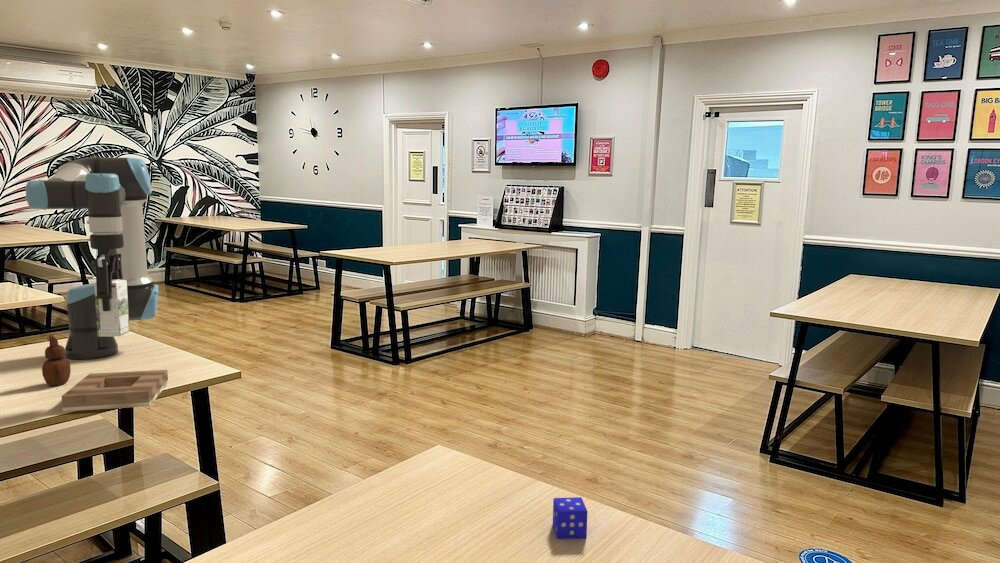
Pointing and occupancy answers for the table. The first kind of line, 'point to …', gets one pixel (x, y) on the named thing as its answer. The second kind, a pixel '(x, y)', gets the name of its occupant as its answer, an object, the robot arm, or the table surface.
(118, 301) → the syrup box
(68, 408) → the socket block
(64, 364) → the wooden figurine
